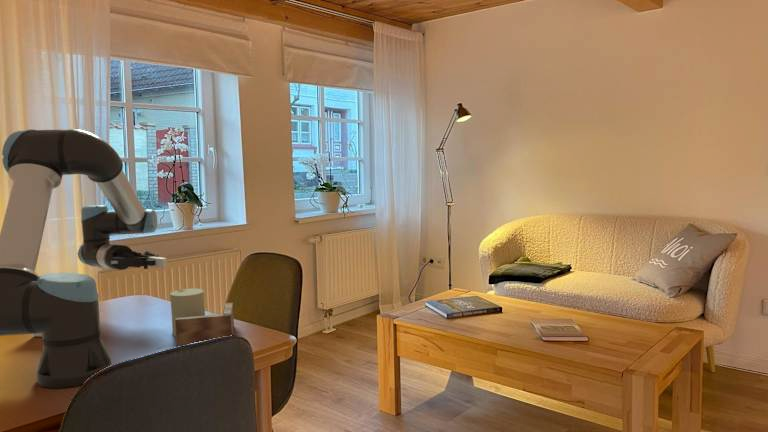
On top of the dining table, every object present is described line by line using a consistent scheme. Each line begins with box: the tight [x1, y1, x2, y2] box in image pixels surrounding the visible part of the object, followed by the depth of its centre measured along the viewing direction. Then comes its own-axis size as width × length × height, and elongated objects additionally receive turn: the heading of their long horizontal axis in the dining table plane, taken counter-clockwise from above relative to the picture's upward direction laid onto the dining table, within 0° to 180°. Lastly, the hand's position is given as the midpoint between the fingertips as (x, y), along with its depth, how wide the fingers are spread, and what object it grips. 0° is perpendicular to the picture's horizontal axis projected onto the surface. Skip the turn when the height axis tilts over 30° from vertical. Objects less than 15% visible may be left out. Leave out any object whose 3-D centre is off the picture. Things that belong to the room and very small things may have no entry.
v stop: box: [175, 302, 235, 347], centre depth 161 cm, size 11×20×7 cm, turn 147°
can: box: [169, 287, 206, 337], centre depth 167 cm, size 9×9×12 cm
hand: (164, 263), depth 170 cm, fingers closed
